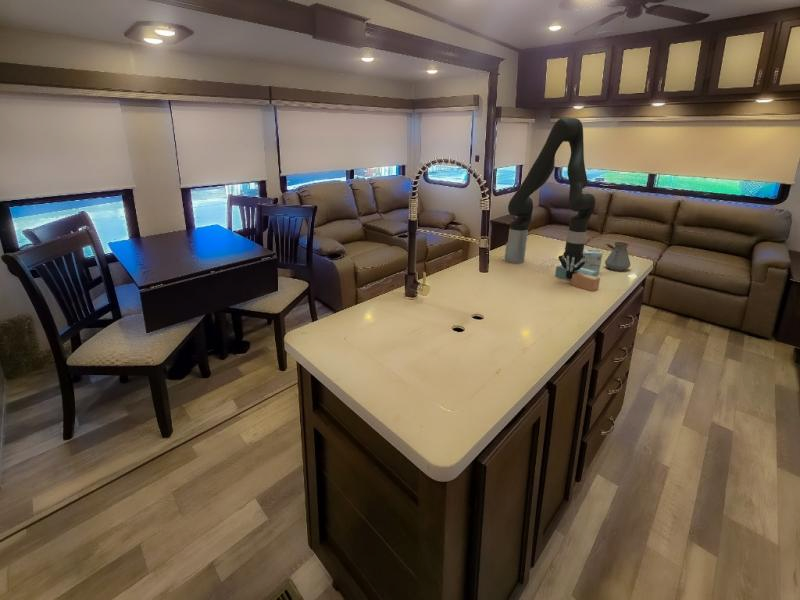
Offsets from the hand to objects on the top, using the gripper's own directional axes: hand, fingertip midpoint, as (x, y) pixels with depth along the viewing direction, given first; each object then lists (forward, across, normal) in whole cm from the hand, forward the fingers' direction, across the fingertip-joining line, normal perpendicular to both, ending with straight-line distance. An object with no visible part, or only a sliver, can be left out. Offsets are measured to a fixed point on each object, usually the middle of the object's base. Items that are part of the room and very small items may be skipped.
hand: (569, 278), depth 185 cm
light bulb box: (+2, -2, +21) cm, 21 cm away
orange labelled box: (+2, +7, 0) cm, 8 cm away
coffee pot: (+2, +5, +34) cm, 34 cm away
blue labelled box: (+2, 0, +7) cm, 7 cm away
